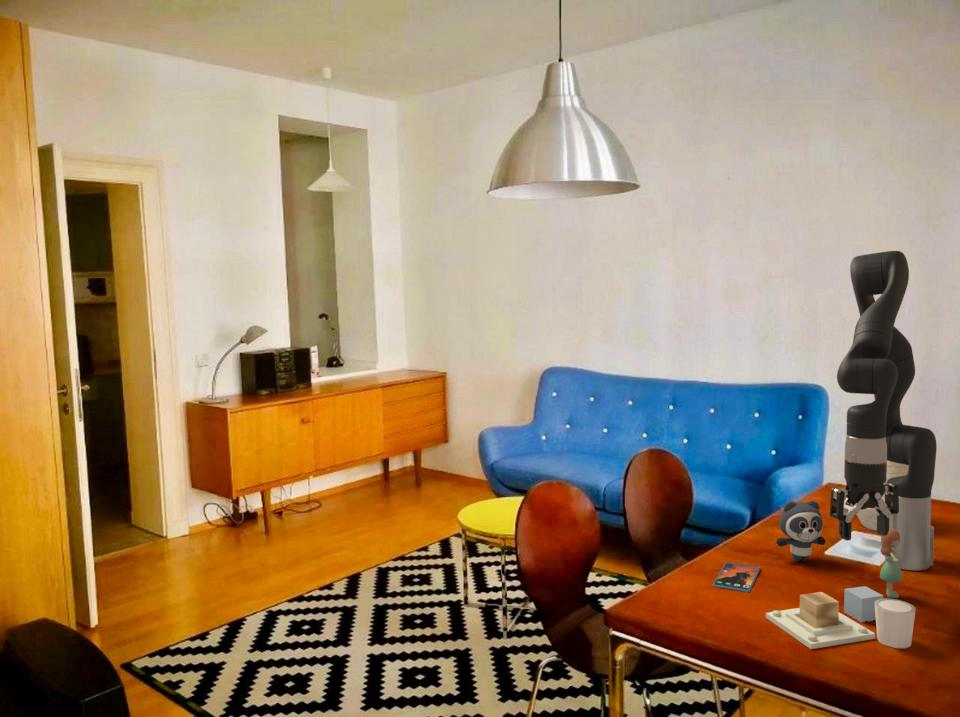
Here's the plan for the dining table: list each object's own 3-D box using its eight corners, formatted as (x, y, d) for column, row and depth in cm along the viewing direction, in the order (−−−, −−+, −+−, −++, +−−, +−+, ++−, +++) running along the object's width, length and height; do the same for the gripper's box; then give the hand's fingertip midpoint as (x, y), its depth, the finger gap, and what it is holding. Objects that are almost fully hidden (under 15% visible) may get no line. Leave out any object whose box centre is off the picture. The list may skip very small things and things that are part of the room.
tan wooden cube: (821, 615, 152) (821, 591, 151) (838, 626, 147) (838, 601, 147) (799, 619, 151) (799, 594, 150) (816, 629, 146) (816, 605, 145)
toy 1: (786, 570, 178) (787, 508, 176) (769, 554, 188) (769, 496, 187) (835, 568, 178) (836, 506, 177) (815, 553, 188) (816, 494, 187)
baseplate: (825, 608, 157) (825, 600, 157) (874, 638, 144) (875, 629, 144) (765, 617, 154) (765, 609, 154) (810, 649, 141) (810, 639, 140)
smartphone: (711, 585, 170) (725, 561, 183) (711, 590, 170) (725, 566, 183) (749, 589, 166) (761, 565, 179) (750, 595, 166) (761, 570, 179)
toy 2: (909, 610, 155) (911, 539, 154) (886, 608, 156) (887, 538, 155) (894, 585, 168) (896, 519, 166) (873, 583, 169) (874, 518, 168)
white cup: (865, 634, 146) (866, 599, 145) (899, 631, 146) (900, 596, 146) (887, 651, 139) (888, 614, 138) (923, 648, 139) (924, 612, 139)
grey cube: (864, 609, 157) (865, 586, 156) (882, 619, 152) (883, 595, 151) (844, 612, 155) (844, 589, 155) (861, 622, 151) (861, 598, 150)
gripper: (882, 451, 156) (880, 527, 157) (821, 456, 152) (820, 534, 154) (910, 459, 148) (908, 539, 150) (847, 465, 145) (846, 547, 147)
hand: (863, 537), depth 152 cm, fingers open, 8 cm apart
